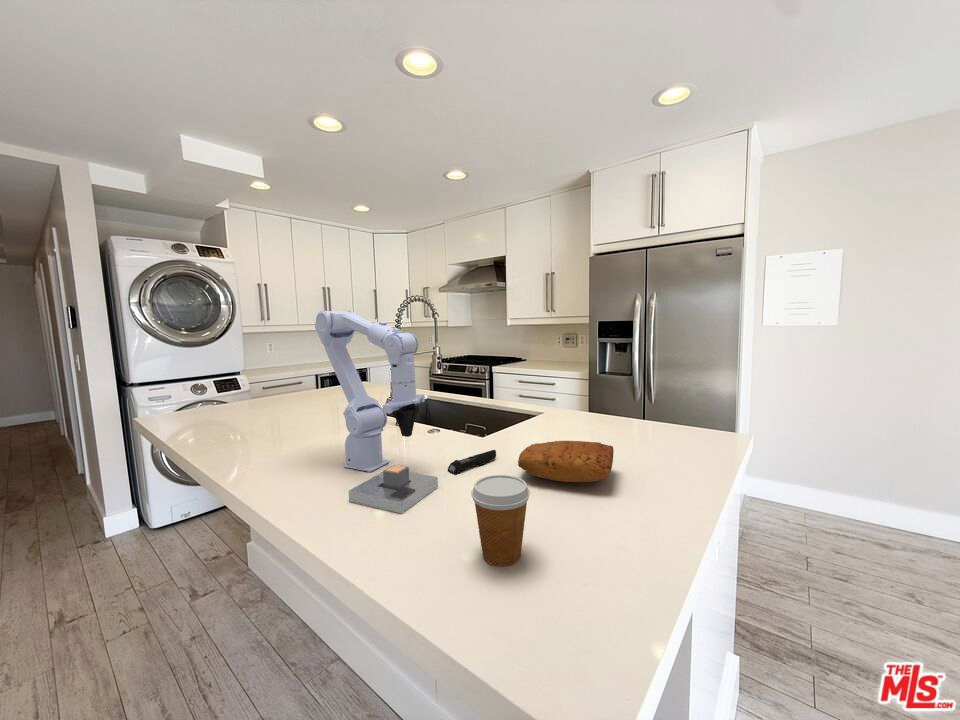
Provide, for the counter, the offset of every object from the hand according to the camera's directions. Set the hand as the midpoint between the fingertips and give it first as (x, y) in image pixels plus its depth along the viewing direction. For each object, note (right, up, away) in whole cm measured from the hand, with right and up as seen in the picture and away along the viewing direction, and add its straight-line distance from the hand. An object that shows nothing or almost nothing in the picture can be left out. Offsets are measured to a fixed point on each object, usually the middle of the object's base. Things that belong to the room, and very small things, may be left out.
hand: (406, 435), depth 99 cm
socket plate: (-1, -11, -9) cm, 15 cm away
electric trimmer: (+16, -10, +7) cm, 20 cm away
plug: (0, -12, -10) cm, 15 cm away
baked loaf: (+39, -10, -2) cm, 41 cm away
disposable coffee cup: (+22, -14, -34) cm, 42 cm away
